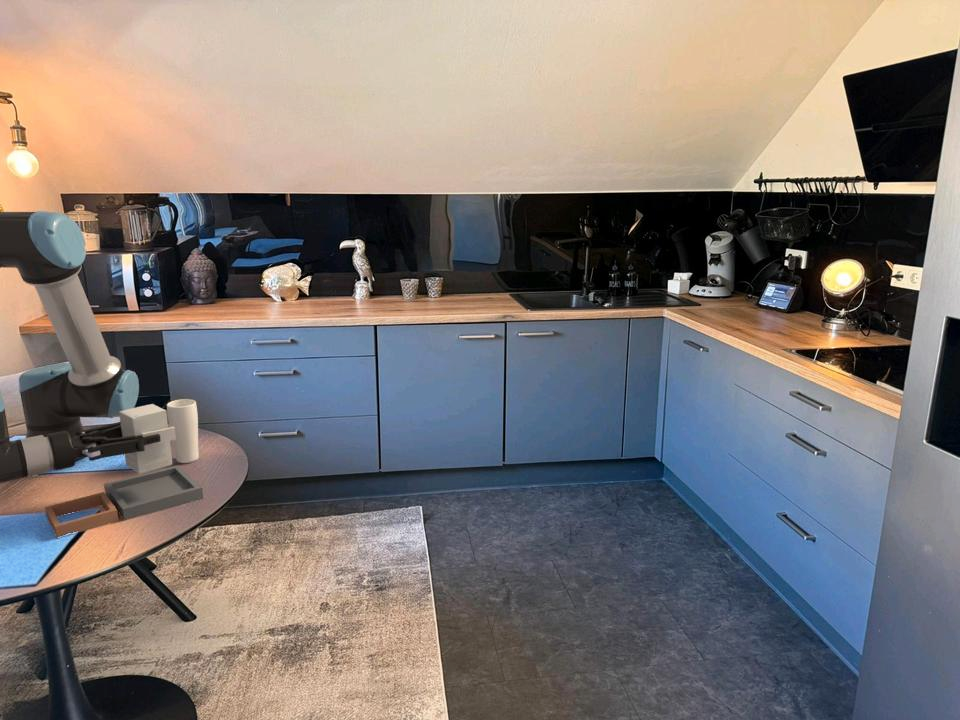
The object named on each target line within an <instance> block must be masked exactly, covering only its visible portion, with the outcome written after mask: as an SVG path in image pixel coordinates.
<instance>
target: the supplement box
mask: <svg viewBox="0 0 960 720" xmlns="http://www.w3.org/2000/svg"><path fill="white" fill-rule="evenodd" d="M119 414H120V417H119V422H120V423H121V430H122V437H129V436H139V435H142V434H141V433H146V432H151V431H155V430H160V429H165V428H169V422H168V415H167V409H164V408H161V407H160V406H158V405H155V404H154V403H151V404H146V405H142V406H141V405H140V406H137V407H136V406H135V407H134V408H132V409H127V410H123V411H119ZM144 448H145V451H142V452H141V451H140V452H134V453H128V454H124V459H125V460H124V461H125V466H126V467H129V469H131V470H132V471H134V472H136V473H137V474H138V475H141V474H145V473H149V472H153V471H157V470H160V469H164V468H167V467H171V466H172V465H173V458H172V449H171V441H167V442H162V443H157V444H153V445H148V446H144Z"/></svg>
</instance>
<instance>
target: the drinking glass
mask: <svg viewBox="0 0 960 720" xmlns="http://www.w3.org/2000/svg"><path fill="white" fill-rule="evenodd" d="M166 413H167V422H168V428H170V427H175V434H176V440H172V444H173V449H174V454H175V460H176V462H178V463H179V464H190V463H193V462H195V461H197V460H199V457H200V453H199V416H198V406H197V401H196V400H194V399H190V398H189V399H188V398H182V399H181V398H180V399H175V400H172V401H169V402H168V403H167V404H166Z"/></svg>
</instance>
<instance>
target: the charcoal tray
mask: <svg viewBox="0 0 960 720" xmlns="http://www.w3.org/2000/svg"><path fill="white" fill-rule="evenodd" d="M103 486H104V493H105V494H106V496H107V497H108V498H109V500H110V501H111V502H112V504H113V505H114V506H115V508H116V509H117V513H118V514H119V513H120V514H119V515H120V517H122V519H123V520H124V521H127V519H128V520H131V519H135V518H139V517H141V516H146V515H148V514H153V513H156V512H159V511H162V509H163V510H166V509H169V507H170V508H173V507H176V506H180V505H183V504H188V503H190V502H194V501H198V500H200V498H201V499H204V493H203V491H204V490H203V487H202V486H201V485H200V484H199V483H197V480H196V479H194V478H193V477H192V476H191V475H190V474H189V473H188V472H187V471H185V470H184V469H183V468H182V467H181V465H179V464H178V465H174V466H168V467H164V468H160V469H156V470H152V471H148V472H145V473H141V474H138V475H134V476H130V477H126V478H122V479H117V480H113V481H110V482H106V483H103ZM197 499H198V500H197ZM193 500H194V501H193ZM165 508H166V509H165ZM158 510H159V511H158ZM155 511H156V512H155Z"/></svg>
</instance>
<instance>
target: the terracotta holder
mask: <svg viewBox="0 0 960 720" xmlns="http://www.w3.org/2000/svg"><path fill="white" fill-rule="evenodd" d="M101 505H102V506H101ZM100 506H101V507H102V508H103V510H104V511H101V512H97V513H93V514H90V515H86V516H82V517H79V518H75V519H72V520H68V521H64V522H60V520H59V519H58V517H57V516H60V517H62V516H61V515H64V514H68V513H71V514H73V513H72V512H75V513H78V512H77V511H79V512H81V511H82V512H83V511H86V510H89V509H93V508H98V507H100ZM44 508H45V509H44V510H45V517H46V519H47V521H48V524H49V525H50V527H51V529H52V531H53V530H54V531H53V533H54V532H55V533H54V535H55V534H56V535H55V538H56V539H59V538H58V537H60V536H63V535H66V534H68V533H73V532H77V531H78V532H79V533H82V532H84V531H88V530H89V531H90V530H92V529H96V528H100V527H103V526H107V525H110V524H114V523H117V522H119V512H118V511H117V509H116V508H115V507H114V505H113V504H112V502H111V501H110V500H109V498H108V497H107V496H106V494H105V491H102V492H98V493H95V494H90V495H87V496H83V497H79V498H75V499H71V500H67V501H63V502H59V503H55V504H51V505H48V506H44ZM68 515H69V514H68ZM64 516H65V515H64ZM113 522H114V523H113ZM109 523H110V524H109Z"/></svg>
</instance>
